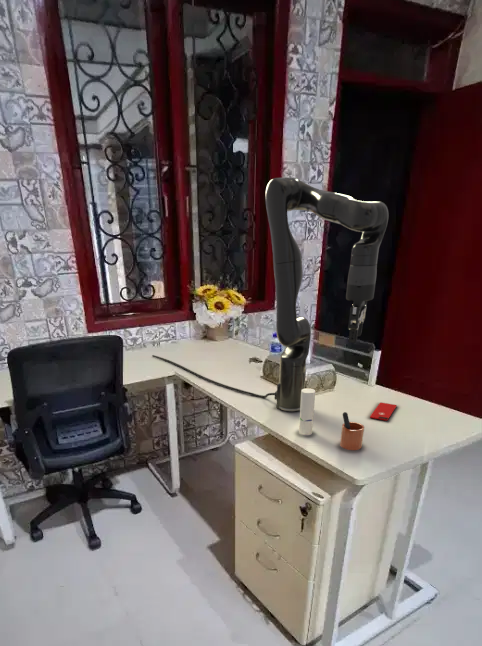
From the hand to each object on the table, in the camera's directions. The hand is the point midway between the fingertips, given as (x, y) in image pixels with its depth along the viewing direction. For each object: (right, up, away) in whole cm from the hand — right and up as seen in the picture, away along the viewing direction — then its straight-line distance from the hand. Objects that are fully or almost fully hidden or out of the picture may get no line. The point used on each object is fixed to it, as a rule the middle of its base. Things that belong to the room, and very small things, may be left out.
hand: (354, 339), depth 125 cm
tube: (-12, -29, +12) cm, 33 cm away
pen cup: (0, -32, +2) cm, 33 cm away
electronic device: (+19, -21, +24) cm, 37 cm away
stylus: (0, -32, +2) cm, 32 cm away
